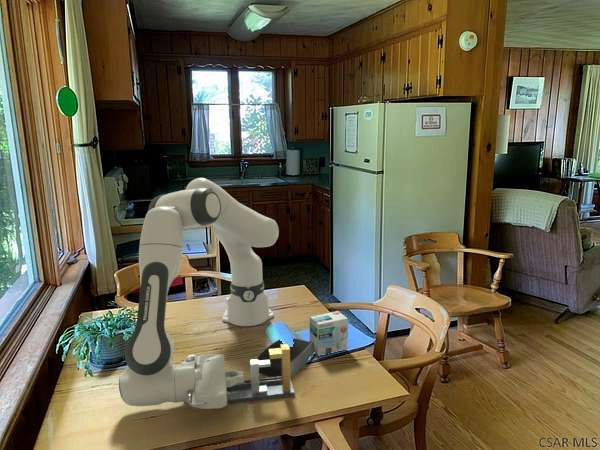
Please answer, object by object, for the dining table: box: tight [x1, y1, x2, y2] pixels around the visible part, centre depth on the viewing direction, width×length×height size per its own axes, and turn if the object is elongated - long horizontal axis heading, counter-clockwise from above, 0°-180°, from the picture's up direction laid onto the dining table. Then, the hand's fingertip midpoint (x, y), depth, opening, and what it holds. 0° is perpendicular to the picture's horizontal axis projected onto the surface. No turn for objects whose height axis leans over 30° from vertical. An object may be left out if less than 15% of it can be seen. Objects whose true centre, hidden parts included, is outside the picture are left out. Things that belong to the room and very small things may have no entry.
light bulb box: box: [309, 310, 349, 356], centre depth 141 cm, size 11×7×11 cm, turn 114°
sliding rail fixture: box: [226, 344, 296, 405], centre depth 117 cm, size 7×24×13 cm, turn 101°
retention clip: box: [249, 358, 270, 395], centre depth 117 cm, size 2×5×9 cm, turn 101°
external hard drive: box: [256, 337, 315, 379], centre depth 135 cm, size 13×19×4 cm
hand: (244, 376), depth 116 cm, fingers closed
